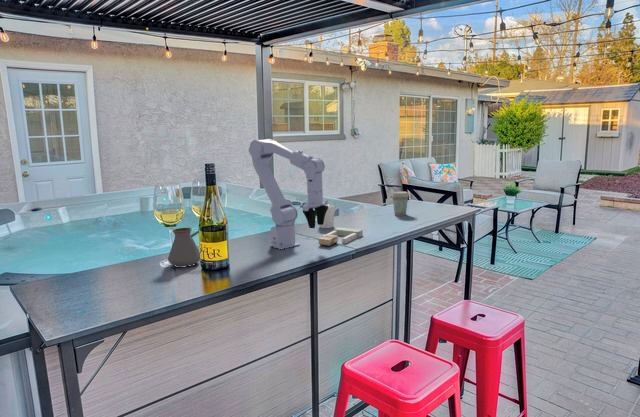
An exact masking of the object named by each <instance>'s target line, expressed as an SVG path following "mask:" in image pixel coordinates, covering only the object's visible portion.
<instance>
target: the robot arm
mask: <svg viewBox="0 0 640 417" xmlns="http://www.w3.org/2000/svg"><path fill="white" fill-rule="evenodd" d="M248 152H249V154H250V157H251V160H252V165H253V168H254V170H255V173H256V174H257V177H258V178H259V180H260V182H261V184H262V186H263V189H264V190H265V193H266V194H267V197H268V199H269V200H270V202H271V207H270V209H269V211H270V213H271V218H272V222H273V223H274V224H275V225H274V226H272V227H270V230H269V231H270V232H269V233H270V234H269V236H270V244H269V246H270V247H272V246H273V247H272V248H275V249H277V248H278V249H277V250H280V249H281V250H284V248H285V249H290V248H292V247H293V246H294V247H297V246H300V244H301V243H298V242H296V231H295V230H296V228H295V223H296V220H297V218H298V215H299V214H298V209H296V207H295V206H294V205H293V204H292V202H291V201H289V199H286V198H285V197H284V195H283V193H282V190H281V189H280V186H279V184H278V182H277V180H276V179H275V176H274V174H273V173H272V170H271V169H270V167H269V166H270V165H269V162H270V161H271V159H272V157H273V155H274V154H276V155H279V156H280V157H282V158H286V159H287V160H289V163H290V164H291V165H292V166H294V167H297V168H299V169H301V170H302V171H303V172H304V174H305V178H306V187H307V190H306V192H307V193H306V194H307V202H306V203H304V205H302V213H303V214H304V217H305V218H306V221H307V224H308V227H309V228H308V229H315V228H316V223H317V225H318V226H319V225H323V223H324V218H325V214H326V212H327V210H328V206H325V205H329V204H328V199H324V195H323V190H324V188H323V172H324V170H325V168H326V165H325V163H324V161H323V160H322V159H321V158H320V157H316V158H314V156H313V155H308V154H306V153H304V151H303V150H301V149H299V150H294V151H293V150H291V149H290V148H288V147H286V146H284V145H282V144H281V143H279V142H277V140H273V139H272V138H267V139H253V140H252V141H251V142H250V143H249V148H248ZM289 247H290V248H289Z"/></svg>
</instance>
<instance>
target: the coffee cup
mask: <svg viewBox="0 0 640 417" xmlns="http://www.w3.org/2000/svg"><path fill="white" fill-rule="evenodd" d="M391 195H392V202H393V204H392V205H393V210H394V211H393V212H394V213H393V214H394V216H396V215H397V216H398V217H404V215H405V216H406V215H407V208H408V198H409V192H408V191H401V190H397V191H392V194H391Z"/></svg>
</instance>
